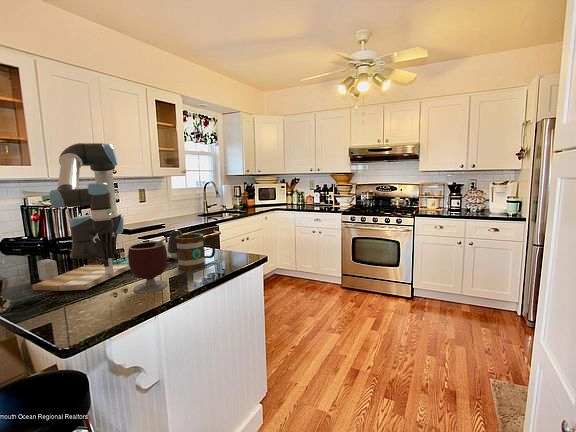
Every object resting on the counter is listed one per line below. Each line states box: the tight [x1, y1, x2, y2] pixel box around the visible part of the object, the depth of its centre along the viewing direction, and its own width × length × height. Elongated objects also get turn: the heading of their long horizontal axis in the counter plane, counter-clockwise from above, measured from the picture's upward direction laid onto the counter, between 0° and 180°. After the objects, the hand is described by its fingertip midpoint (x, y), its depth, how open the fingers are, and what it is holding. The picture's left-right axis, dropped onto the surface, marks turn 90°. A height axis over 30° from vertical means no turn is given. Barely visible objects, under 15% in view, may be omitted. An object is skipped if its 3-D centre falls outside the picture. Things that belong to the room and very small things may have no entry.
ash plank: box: [59, 264, 131, 292], centre depth 136 cm, size 28×12×2 cm, turn 171°
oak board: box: [31, 264, 104, 292], centre depth 138 cm, size 28×12×2 cm, turn 171°
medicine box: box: [36, 258, 59, 282], centre depth 137 cm, size 8×4×9 cm, turn 59°
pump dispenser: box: [165, 229, 184, 259], centre depth 167 cm, size 10×10×15 cm
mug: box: [176, 233, 216, 272], centre depth 151 cm, size 20×14×15 cm
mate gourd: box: [127, 237, 169, 294], centre depth 122 cm, size 16×14×20 cm
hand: (109, 273), depth 134 cm, fingers closed
